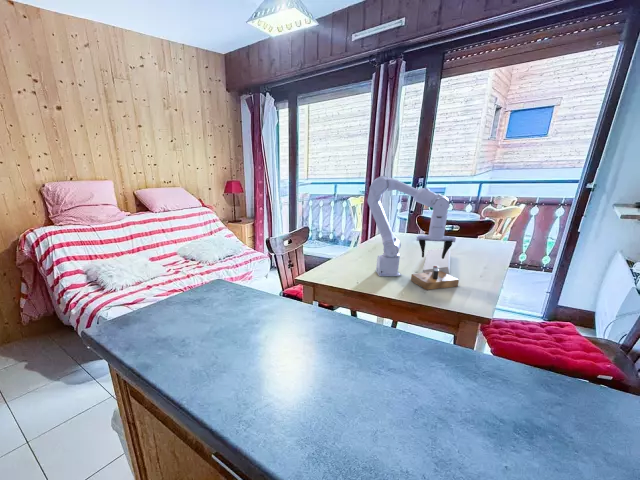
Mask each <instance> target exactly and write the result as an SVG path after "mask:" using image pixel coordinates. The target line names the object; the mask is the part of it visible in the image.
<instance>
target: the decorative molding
mask: <svg viewBox="0 0 640 480" xmlns="http://www.w3.org/2000/svg"><path fill="white" fill-rule="evenodd" d="M443 248H444V247H439V248H433V249H427V252H426V256H425V259H424V260H425V261H424V264H423V267H422V273H427V272H432V271H433V266H437V267H438V271H442V272H444V273H446V274H448V275H450V273H451V272H450V271H451V249H450V248H451V247H450V248H449V249H448V251H447V253H446V254H445V257H444V259H442V253H443Z"/></svg>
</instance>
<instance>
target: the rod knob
mask: <svg viewBox="0 0 640 480" xmlns="http://www.w3.org/2000/svg"><path fill="white" fill-rule="evenodd" d="M438 272H439V271H438V267H437V266H433V271H432V276H433V279H437V278H438Z"/></svg>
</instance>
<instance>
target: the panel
mask: <svg viewBox="0 0 640 480" xmlns="http://www.w3.org/2000/svg"><path fill="white" fill-rule="evenodd" d="M410 281H411V282H412V283H414V284H416V285H418V286H419V287H420V288H421V289H424V290H427V291H429V290H438V289H446V288H455V287H459V284H460V283H459V281H460V279H458V278H457V277H454V276H452V275H448V274H446V273H444V272H442V271H439V272H438V278H437V279H433V276H432V272H427V273H424V272H419V273H418V272H417V273H412V274H411V276H410Z"/></svg>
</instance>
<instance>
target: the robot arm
mask: <svg viewBox="0 0 640 480" xmlns="http://www.w3.org/2000/svg"><path fill="white" fill-rule="evenodd" d="M386 191H388V192H389V191H398V192H401V193H403V194H406V195H407V196H411V197H413V200H414V201H415V202H416V203H418V204H421V205H423V206H425V207H428V208H432V214H431V215H430V223H429V230H428V234H425V235H422V234H421V235H419V234H417V235H416V239H415V240H416V242H418V243H419V246H420V251H421V258H423V259H424V258H425V250H426V242H443V247H442V248H443V253H442V259H444V257H445V254H446V253H447V251H448V249H449V248H451V247H452V246H453V243H456V240H457V237H456V236H450V235H445V233H446V232H445V231H446V225H447V220H448V209H449V208H450V206H451V205H450V199H449V198H448V197H447V196H445V195H443V194H441V193H439V192H438V193H436V192H434V191H431V190H430V188H428V187H426V188H424V187H422V188H419V189H418V188H416V187H413V186H411V185H409V184H407V183H405V182H403V181H400V180H398V179H396V178H393V177H388V176H386V175H380V176H377V177H376V178H375V179H374V180H372V182H371V184H370V186H369V190H368V196H367V201H366V202H367V205H368V207H369V209H370V212H371V214H372V217H373V219H374V222H375V225H376V227H377V229H378V232H379V234H380V236H381V240H382V245H383V253H382V254H381V255H377V256H376V257H377V258H376V265H375V266H376V267H375V273H376V274H377V275H378V276H379V277H401V273H400V272H399V268H400V259H401V254H400V249H401V246H402V243H401V241H400V240H399V239H398V238H397V237H396V234H394V232H393V229H392V227H391V226H390V223H389V220H388V218H387V215H386V212H385V210H384V207H383V205H382V202H381V199H382V197H383V195H384V193H385V192H386Z"/></svg>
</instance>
